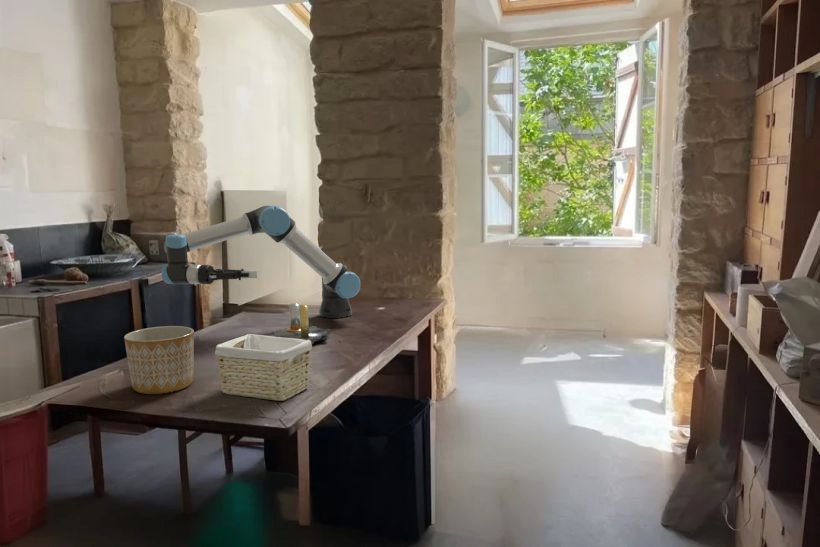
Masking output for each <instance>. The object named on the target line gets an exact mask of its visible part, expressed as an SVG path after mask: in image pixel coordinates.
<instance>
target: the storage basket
mask: <svg viewBox="0 0 820 547" xmlns="http://www.w3.org/2000/svg"><path fill="white" fill-rule="evenodd" d="M311 350H313V345H312V344H311V341H310V340H302V339H294V338H282V337H272V335H262V334H253V333H248V334H246V335H242V336H240V337H236V338H233V339H231V340H227V341H224V342H223V343H218V344H217V345H216V346H215V350H214V353H215V356H216V357H217V364H218V375H219V380H220V388H221V392H222V393H223V394H226V395H234V396H240V397H248V398H255V399H263V400H271V401H279V402H280V401H281V402H282V401H283V402H284V401H286V400H288V399H290V398H291V397H292V398H293V397H294V396H295V395H298V394H299V393H300V392H303V391H304V390H307V389H308V388H309V386H310V378H311V377H310V375H311V371H310V370H311V369H310V368H311V353H312V351H311Z"/></svg>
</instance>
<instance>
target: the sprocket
mask: <svg viewBox="0 0 820 547" xmlns="http://www.w3.org/2000/svg"><path fill="white" fill-rule="evenodd" d="M309 323H310V322H309V305H308V304H302V305H300V328H301V329H299V330H290V326H289V327H288V328H284V329H280V330H274V331H272V332H271V333H272V335H271V336H272V337H282V338H294V339H302V340H310V341H311V344H314V343H316V342H319V341H327V340H329V339H330V335H331V330H330V328H322V327H318V326H317V325H316V326H315V325H312V326H311V325H310V324H309ZM309 325H310V326H309Z"/></svg>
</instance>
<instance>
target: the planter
mask: <svg viewBox="0 0 820 547" xmlns="http://www.w3.org/2000/svg"><path fill="white" fill-rule="evenodd" d="M194 333H195V330H194V329H193V328H191V327H189V326H181V325H179V326H178V325H166V326H165V325H164V326H154V327H147V328H143V329H142V328H141V329H138V330H134V331H131V332H128V333H126V334H125V335H124V337H123V340H124V344H125V351H126V357H127V364H128V370H129V376H130V382H131V383H130V384H131V387H132V389H133V390H134V391H135V392H137V393H139V394H144V395H163V393H164V394H169V392H170V393H174V391H175V392H179V391H181V390H183V389H185V388H187V387H189V386H190V385H191V384H192V382H193V381H194V356H195V355H194V351H195V350H194V348H195V347H194V345H195V344H194V343H195V341H194V340H195V337H194V336H195V334H194Z"/></svg>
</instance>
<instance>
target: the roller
mask: <svg viewBox="0 0 820 547" xmlns="http://www.w3.org/2000/svg"><path fill="white" fill-rule="evenodd" d="M300 306H301V305H300V303H299V302H295V303H294V302H293V303H289V308H288V309H289V327H290V330H299V329H301V328H300V327H301V326H300Z"/></svg>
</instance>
